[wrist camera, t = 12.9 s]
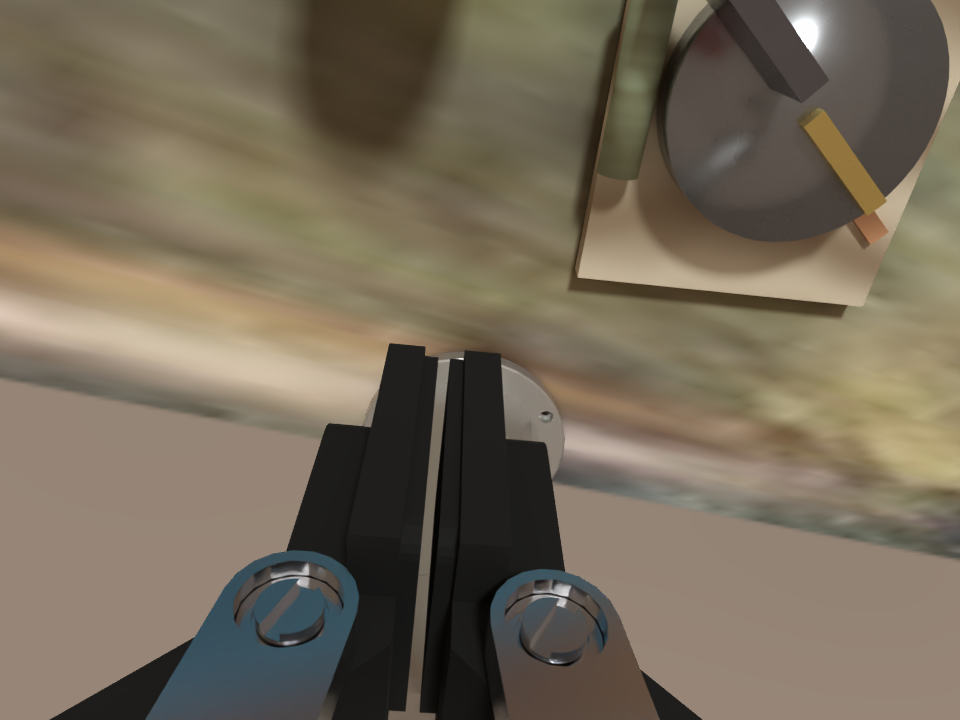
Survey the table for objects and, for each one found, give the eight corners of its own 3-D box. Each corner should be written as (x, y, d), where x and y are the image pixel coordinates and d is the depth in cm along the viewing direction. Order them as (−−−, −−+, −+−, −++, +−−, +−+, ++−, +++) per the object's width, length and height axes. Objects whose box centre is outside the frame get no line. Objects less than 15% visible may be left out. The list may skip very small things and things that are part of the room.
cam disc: (973, 3, 31) (1073, 13, 26) (832, 250, 36) (890, 299, 31) (668, -105, 29) (710, -117, 23) (570, 176, 34) (587, 215, 29)
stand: (852, 297, 40) (881, 323, 37) (569, 268, 39) (577, 293, 36) (1030, -129, 30) (1089, -137, 27) (654, -182, 29) (674, -198, 26)
